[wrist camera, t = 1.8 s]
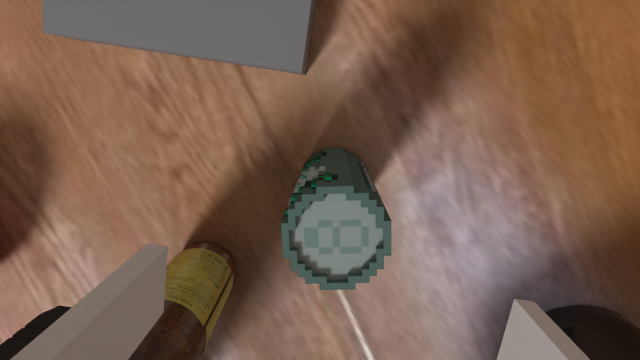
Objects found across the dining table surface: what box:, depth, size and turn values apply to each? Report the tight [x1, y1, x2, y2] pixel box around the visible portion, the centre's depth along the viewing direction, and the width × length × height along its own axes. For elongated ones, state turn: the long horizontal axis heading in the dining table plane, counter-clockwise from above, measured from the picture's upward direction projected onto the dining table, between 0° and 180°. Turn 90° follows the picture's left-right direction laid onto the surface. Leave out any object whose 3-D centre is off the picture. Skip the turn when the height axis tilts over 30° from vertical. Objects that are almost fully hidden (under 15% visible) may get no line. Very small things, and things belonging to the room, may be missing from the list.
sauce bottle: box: [128, 243, 234, 360], centre depth 29 cm, size 6×6×20 cm
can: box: [281, 148, 391, 290], centre depth 29 cm, size 6×6×15 cm
